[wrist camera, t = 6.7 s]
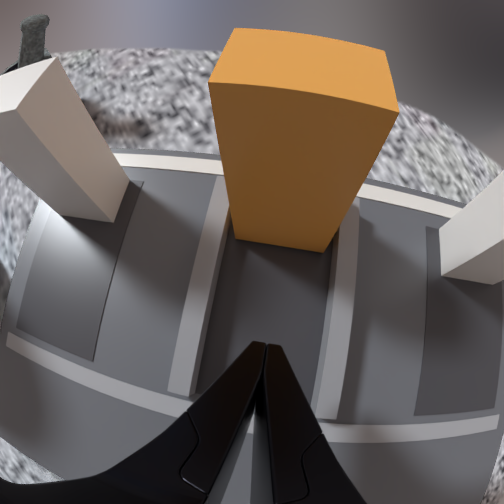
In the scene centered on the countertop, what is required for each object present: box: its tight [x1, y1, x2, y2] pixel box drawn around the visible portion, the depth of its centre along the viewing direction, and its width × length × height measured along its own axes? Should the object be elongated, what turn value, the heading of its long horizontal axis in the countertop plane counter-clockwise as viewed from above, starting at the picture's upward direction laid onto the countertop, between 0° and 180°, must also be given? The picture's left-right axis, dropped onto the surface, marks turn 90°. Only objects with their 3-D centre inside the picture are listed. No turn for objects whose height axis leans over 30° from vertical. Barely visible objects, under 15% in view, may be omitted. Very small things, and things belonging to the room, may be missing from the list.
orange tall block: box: [208, 28, 399, 253], centre depth 11 cm, size 3×5×10 cm, turn 80°
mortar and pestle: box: [0, 14, 52, 76], centre depth 18 cm, size 11×9×12 cm
